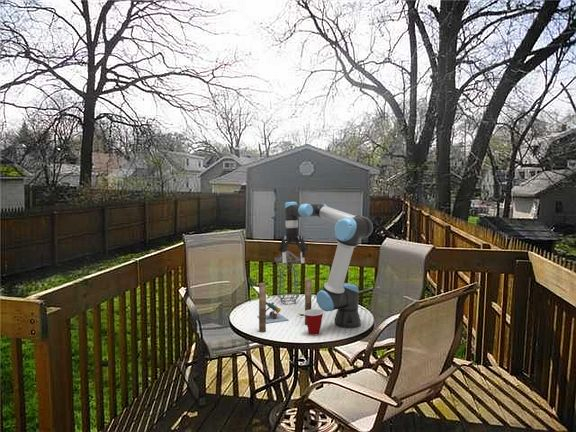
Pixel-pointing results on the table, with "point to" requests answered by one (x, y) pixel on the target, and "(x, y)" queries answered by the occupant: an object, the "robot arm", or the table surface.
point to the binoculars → (276, 309)
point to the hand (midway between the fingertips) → (293, 263)
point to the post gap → (263, 302)
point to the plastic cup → (314, 320)
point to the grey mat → (278, 319)
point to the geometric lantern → (286, 272)
